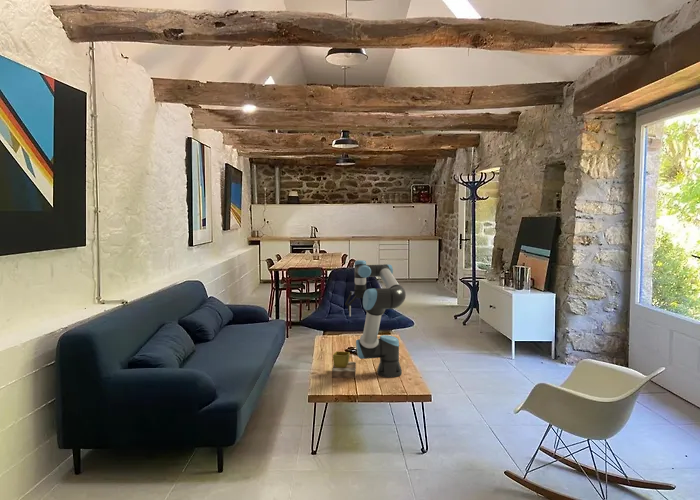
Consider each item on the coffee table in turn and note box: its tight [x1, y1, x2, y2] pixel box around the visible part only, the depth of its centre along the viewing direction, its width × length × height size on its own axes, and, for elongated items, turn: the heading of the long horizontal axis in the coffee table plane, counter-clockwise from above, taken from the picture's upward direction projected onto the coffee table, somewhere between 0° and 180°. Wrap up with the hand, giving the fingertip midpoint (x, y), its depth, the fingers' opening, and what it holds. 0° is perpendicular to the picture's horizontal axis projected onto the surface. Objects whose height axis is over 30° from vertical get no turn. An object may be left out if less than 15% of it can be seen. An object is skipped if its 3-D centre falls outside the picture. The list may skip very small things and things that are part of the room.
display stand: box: [331, 361, 357, 379], centre depth 301 cm, size 14×14×6 cm
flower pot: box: [332, 351, 351, 368], centre depth 301 cm, size 9×9×9 cm
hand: (360, 316), depth 320 cm, fingers open, 13 cm apart
